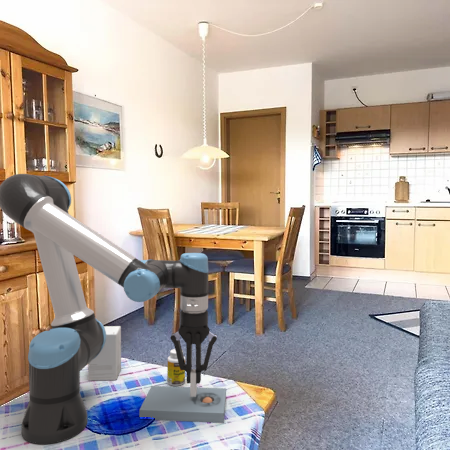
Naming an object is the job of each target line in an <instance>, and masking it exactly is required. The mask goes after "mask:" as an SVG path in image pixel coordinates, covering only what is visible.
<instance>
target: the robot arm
mask: <svg viewBox="0 0 450 450" xmlns="http://www.w3.org/2000/svg"><path fill="white" fill-rule="evenodd" d="M71 204H72V195H71V192H70V189H69V188H68V187H67V185H66V184H65V183H64V182H62V181H61V180H60V179H57V178H56V177H52V176H49V175H35V174H28V173H18V174H17V173H16V174H13V175H10V176H9V177H7V178H5V180H3V181H2V182H1V184H0V209H1V210H2V212H3V213H4V214H5V215H6V217H8V218H10V219H11V220H12V221H14V222H15V223H16V224H17V225H19V226H21V227H23V228H24V229H26V230H28V231H30V232H31V233H32V234H33V236H34V240H35V244H36V247H37V248H36V249H37V251H38V255H39V260H40V263H41V267H42V270H43V274H44V280H45V284H46V286H47V289H48V295H49V297H50V302H51V306H52V309H53V313H54V318H53V320H52V321H51V323H50V326H51V328H50V329H49V330H44V331H42V332H39V333H38V334H37V335H35V336H34V337H33V338H32V339H31V340H30V343H29V348H28V353H27V354H28V355H27V361H28V385H29V386H28V387H29V388H28V390H29V399H28V400H29V401H28V403H27V407H26V411H25V413H24V416H23V419H22V423H21V437H22V439H24V440H25V441H27V442H29V443H31V444H37V445H48V444H55V443H60V442H63V441H66V440H68V439H71V438H74V437H75V436H77V435H78V434H80V433H82V431H83V430H84V429H85V428H86V427H87V425H88V411H87V408H86V406H85V403H84V400H83V398H82V395H81V386H80V385H81V378H80V377H81V371H82V370H83V369H84V368H85V367H86V366H88V363H89V362H91V361H92V360H93V359H95V358H96V357H97V356H98V355H99V353H100V352H101V350H102V349H103V347H104V345H105V342H106V331H105V328H104V324H103V323H102V322H101V321H99V320H98V318H96V315H95V314H96V313H95V312H94V310H93V309H91V308H89V307H88V305H87V303H86V299H85V294H84V291H83V287H82V282H81V278H80V275H79V272H78V267H77V264H76V260H75V257H76V258H78V259H79V260H81V261H82V262H84V263H86V264H87V265H89V266H90V267H92V268H93V269H94V270H96V271H98V272H99V273H101V274H102V275H104V276H105V277H106V278H108V279H110V280H111V281H113V282H114V283H116V284H118V285H119V286H120V287H122V288H123V292H124V294H125V295H126V297H127V298H129V300H131V301H132V302H135V303H144V302H147V301H149V300H151V299H153V298H154V297H156V295H157V294H158V293H159V292H160V291H161V290H162V289H179V290H180V308H179V309H180V310H181V311H179V313H180V314H179V318H180V319H179V328H178V330H177V331H176V332H173V333H172V334H171V336H170V340H171V342H172V343H173V346H174V349H175V350H176V354H177V359H178V363H179V367H180V370H185V374H186V383H187V384H190V386H189V387H190V397H196V394H197V387H198V384H200V383H201V381H202V372H203V371H204V372H205V371H207V369H208V365H209V362H210V357H211V353H212V350H213V346H214V345H215V343H216V342H217V340H218V335H217V334H216V333H212V332H211V331H210V330H211V329H210V327H209V312H208V309H209V259H208V256H207V255H206V254H205V253H203V252H185V253H182V254H181V255H180V259H179V260H168V259H167V260H164V259H163V260H162V259H141V260H139V259H138V258H136V257H135V256H134V255H132V254H131V253H129V252H127V251H126V250H124V249H123V248H121V247H120V246H118V245H117V244H115V242H114V243H113V242H112V241H111V240H110V239H108V238H106V237H104V236H103V235H102V234H100V233H98V232H97V231H96V230H94V229H92V228H91V227H90V226H88V225H87V224H84V223H83V222H82V221H80V220H78V219H77V218H75V217H74V216H72V215H71V214H70V213H69V209H70V206H71ZM207 337H208V338H207ZM181 338H182V340H183V341H184V342H185V346H186V347H185V348H186V356H184V351H183V352H182V350H183V348H182V345H181V341H180V339H181ZM205 339H207V340H208V341H207V342H208V345H207V347H206V348H207V350H206V352H205V357H204V360H203V364H202V343H204V341H205ZM193 345H195V368H192V367H193ZM184 357H185V360H184Z"/></svg>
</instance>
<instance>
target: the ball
mask: <svg viewBox="0 0 450 450" xmlns="http://www.w3.org/2000/svg"><path fill="white" fill-rule="evenodd" d="M202 402H203V403H211V402H213V400H212V399H211V398H210V397H206V398H204V399H203V401H202Z"/></svg>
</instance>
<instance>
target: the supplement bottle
mask: <svg viewBox="0 0 450 450" xmlns="http://www.w3.org/2000/svg"><path fill="white" fill-rule="evenodd" d="M169 352H170V353H169V354H170V355H169V356H168V357H167V371H166V372H167V375H166V376H167V377H166V379H167V384H168V386H172V387H181V385H184V384H185V382H186V371H185V370H180V367H179V363H178V359H177V354H176V350H175V348H173V349H171V350H170V351H169ZM182 352H183V353H184V351H183V349H182ZM184 360H185V361H186V356H184Z"/></svg>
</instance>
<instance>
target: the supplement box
mask: <svg viewBox="0 0 450 450" xmlns="http://www.w3.org/2000/svg"><path fill="white" fill-rule="evenodd" d="M103 326H104V325H103ZM104 328H105V331H106V342H105V345H104V347H103V349H102V350H101V352H100V353H99V355H98V356H97V357H96V358H95V359H93V360H92V361H91V362H89V363H88V364H87V370H88V372H87V375H88V376H87V377H88V379H87V380H88V381H116V380H117V379H118V377H119V375H120V372H121V370H122V326H121V325H115V326H113V325H111V326H110V325H109V326H107V325H105V326H104Z"/></svg>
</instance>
